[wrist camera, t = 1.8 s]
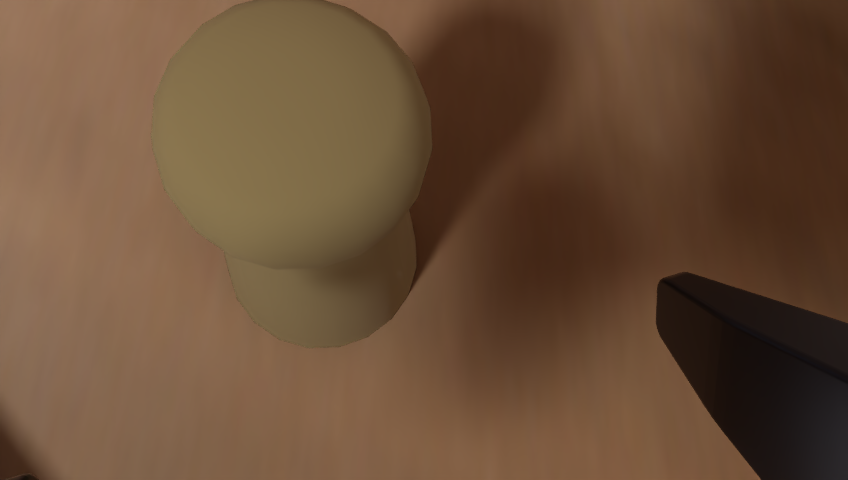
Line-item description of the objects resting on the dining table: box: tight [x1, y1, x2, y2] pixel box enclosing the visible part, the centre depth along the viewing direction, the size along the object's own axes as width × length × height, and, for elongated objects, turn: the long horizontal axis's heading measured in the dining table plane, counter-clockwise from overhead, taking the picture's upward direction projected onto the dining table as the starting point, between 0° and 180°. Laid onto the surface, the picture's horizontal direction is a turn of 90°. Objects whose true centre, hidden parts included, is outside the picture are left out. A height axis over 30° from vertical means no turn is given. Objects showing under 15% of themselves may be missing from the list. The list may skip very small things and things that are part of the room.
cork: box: [151, 0, 432, 348], centre depth 17 cm, size 6×6×11 cm
